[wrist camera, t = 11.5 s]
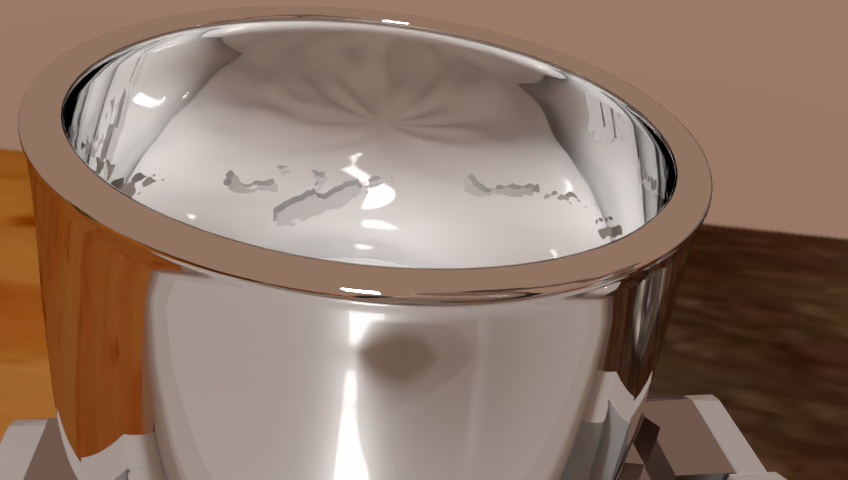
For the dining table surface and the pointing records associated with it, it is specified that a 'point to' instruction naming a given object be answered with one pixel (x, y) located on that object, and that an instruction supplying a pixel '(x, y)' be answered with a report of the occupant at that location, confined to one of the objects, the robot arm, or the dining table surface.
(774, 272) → the dining table surface
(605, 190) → the beer glass
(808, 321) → the dining table surface
